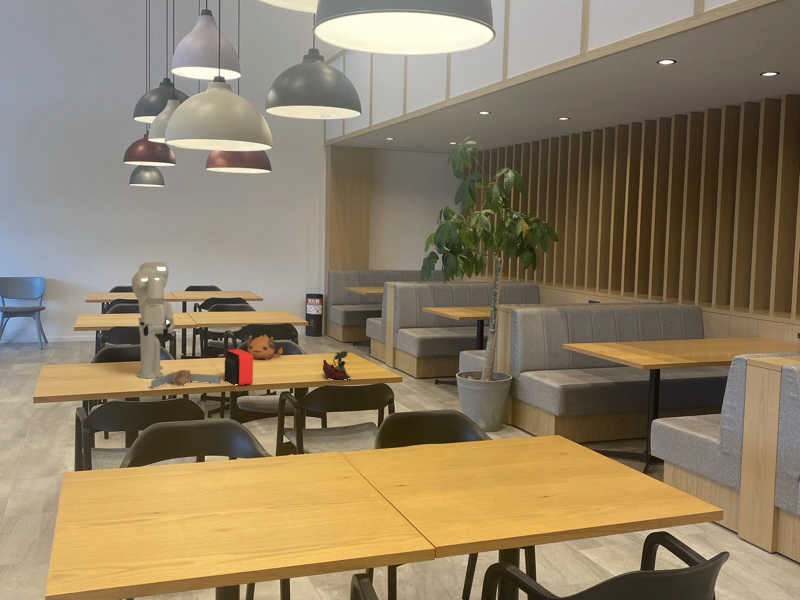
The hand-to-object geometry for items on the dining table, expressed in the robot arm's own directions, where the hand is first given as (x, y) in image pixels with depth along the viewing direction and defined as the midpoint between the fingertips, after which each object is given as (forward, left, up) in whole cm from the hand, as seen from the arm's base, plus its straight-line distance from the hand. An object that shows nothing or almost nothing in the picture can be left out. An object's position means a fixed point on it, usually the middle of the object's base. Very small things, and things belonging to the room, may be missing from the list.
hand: (155, 336), depth 374 cm
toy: (-85, +25, -24) cm, 91 cm away
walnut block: (-5, +11, -24) cm, 27 cm away
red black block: (-16, +36, -24) cm, 46 cm away
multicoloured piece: (-41, +81, -24) cm, 94 cm away
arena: (-2, +16, -24) cm, 29 cm away
